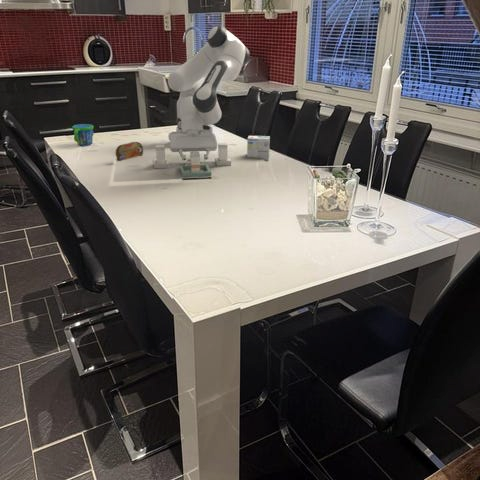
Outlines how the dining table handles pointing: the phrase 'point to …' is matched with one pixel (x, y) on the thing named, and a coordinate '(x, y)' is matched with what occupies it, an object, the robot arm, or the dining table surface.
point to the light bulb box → (258, 147)
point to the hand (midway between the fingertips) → (195, 159)
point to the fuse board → (188, 162)
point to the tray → (190, 174)
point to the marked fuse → (195, 161)
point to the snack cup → (83, 134)
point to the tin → (129, 150)
